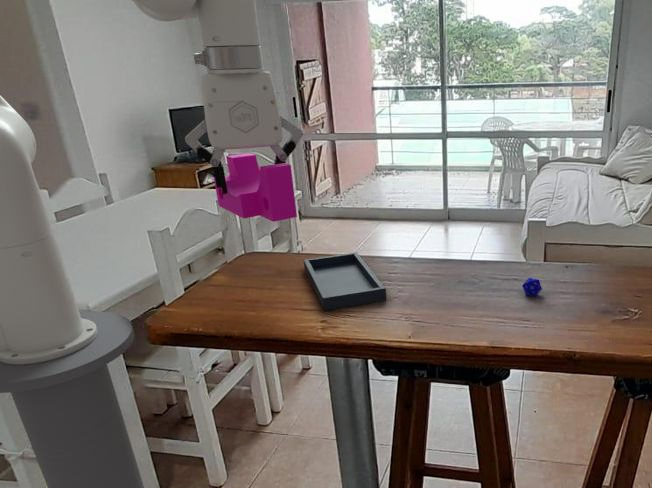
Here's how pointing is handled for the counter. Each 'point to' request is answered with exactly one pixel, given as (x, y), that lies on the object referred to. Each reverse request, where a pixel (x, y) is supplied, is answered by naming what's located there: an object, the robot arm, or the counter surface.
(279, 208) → the toy block
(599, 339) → the counter surface
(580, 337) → the counter surface
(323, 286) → the rectangular tray
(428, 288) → the counter surface
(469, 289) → the counter surface
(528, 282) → the die
